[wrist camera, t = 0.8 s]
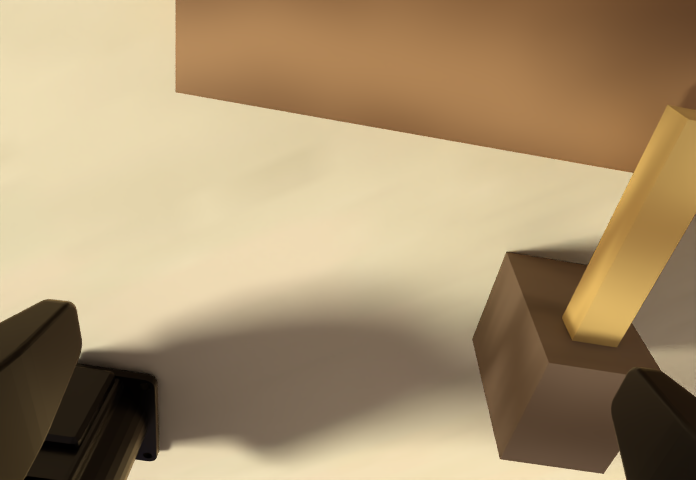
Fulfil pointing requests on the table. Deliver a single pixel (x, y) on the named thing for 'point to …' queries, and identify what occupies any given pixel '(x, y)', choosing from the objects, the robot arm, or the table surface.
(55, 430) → the robot arm
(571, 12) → the plank
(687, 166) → the mallet
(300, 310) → the table surface
